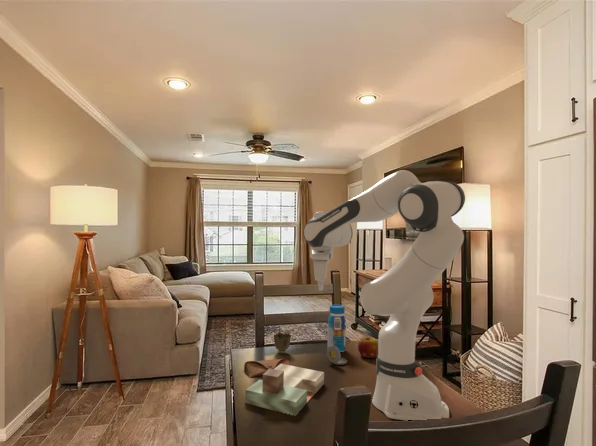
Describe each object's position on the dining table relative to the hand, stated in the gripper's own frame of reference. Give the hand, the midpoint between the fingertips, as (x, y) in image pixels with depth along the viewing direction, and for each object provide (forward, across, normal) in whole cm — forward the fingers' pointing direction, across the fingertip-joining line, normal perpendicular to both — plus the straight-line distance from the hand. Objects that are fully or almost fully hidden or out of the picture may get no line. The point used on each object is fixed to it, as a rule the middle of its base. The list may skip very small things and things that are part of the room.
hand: (320, 290), depth 132 cm
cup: (+31, -18, -17) cm, 40 cm away
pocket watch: (+31, -11, +7) cm, 34 cm away
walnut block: (+27, +25, -13) cm, 39 cm away
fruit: (+31, -21, +20) cm, 43 cm away
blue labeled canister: (+31, -26, +6) cm, 41 cm away
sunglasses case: (+32, +2, -19) cm, 37 cm away
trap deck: (+31, +18, -9) cm, 37 cm away
